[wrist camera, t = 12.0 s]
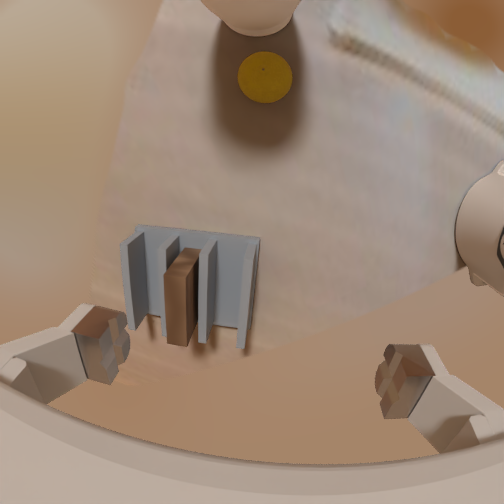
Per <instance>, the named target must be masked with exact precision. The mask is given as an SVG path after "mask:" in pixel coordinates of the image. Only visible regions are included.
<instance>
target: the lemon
mask: <svg viewBox="0 0 504 504" xmlns="http://www.w3.org/2000/svg"><path fill="white" fill-rule="evenodd" d="M237 77H238V84H239V86H240V89H241V90H242V92H243V93H244V94H245V95H246V96H247V97H248V98H250V99H251V100H253V101H256V102H260V103H271V102H275V101H277V100H279V99H281V98H283V97H284V96H285V95H286V94H287V93H288V91H289V90H290V88H291V85H292V77H293V75H292V71H291V68H290V66H289V64H288V63H287V62H286V61H285V60H284V59H283V58H282V57H281V56H279V55H278V54H275V53H272V52H266V51H262V52H256V53H254V54H251V55H250V56H248V57H247V58H246V59H245V60H244V61H243V62H242V63H241V65H240V67H239V70H238V75H237Z"/></svg>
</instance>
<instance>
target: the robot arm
mask: <svg viewBox="0 0 504 504" xmlns="http://www.w3.org/2000/svg"><path fill="white" fill-rule="evenodd" d="M456 243H457V248H458V251H459V254H460V256H461V258H462V259H463V261H464V262H465V264H466V265H467V267H468V269H469V274H470V279H471V282H472V283H473V284H474V285H476V286H482V285H489V286H490V287H491V288H493V289H494V290H495V291H497V292H498V293H499V294H500V295H502V296H504V160H503V161H501V162H499V163H498V165H497V166H496V167H495V169H494V170H493V172H492V173H491V174H489V175H488V176H486V177H484V178H482V179H480V180H479V181H478V182H476V183H475V184H474V185H473V186H472V188H471V189H470V190H469V191H468V193H467V194H466V196H465V198H464V200H463V202H462V204H461V207H460V209H459V213H458V217H457V222H456ZM127 324H128V323H127V317H126V314H125V313H124V312H121V311H117V310H113V309H109V308H105V307H101V306H96V305H92V304H88V303H82V304H81V305H80V306H79V307H78V308H77V309H76V310H75V311H74V312H73V313H72V314H71V315H70V316H69V317H68V318H67V319H66V320H65V321H64V322H63V323H62V324H61V325H60V326H59V327H58V328H55V327H52V328H49V329H46V330H43V331H40V332H37V333H35V334H32V335H29V336H25V337H23V338H20V339H17V340H14V341H11V342H8V343H5V344H2V345H0V504H504V409H503V408H502V407H500V406H499V405H497V404H496V403H494V402H493V401H491V400H490V399H488V398H487V397H485V396H484V395H482V394H481V393H479V392H478V391H476V390H475V389H473V388H472V387H470V386H469V385H467V384H466V383H464V382H462V381H461V380H460V379H459V378H457V377H455V376H454V375H449V373H448V371H447V370H446V368H445V366H444V364H443V362H442V361H441V359H440V357H439V355H438V354H437V352H436V350H435V348H434V347H433V346H432V345H431V344H416V345H407V344H406V345H404V344H389V345H388V346H387V348H386V349H385V352H384V357H385V361H384V362H382V363H381V364H380V365H379V366H378V369H377V372H376V377H375V388H376V392H377V394H378V395H380V396H381V397H382V400H381V402H380V406H381V410H382V413H383V416H384V419H396V418H397V419H398V418H408V420H409V421H410V422H411V423H412V425H413V426H414V427H415V428H416V429H417V430H418V431H419V432H420V433H421V434H422V435H423V436H424V437H425V438H426V439H427V440H428V441H429V443H431V445H432V446H433V447H434V448H435V449H436V450H437V451H438V452H439V453H440V454H436V455H431V456H425V457H418V458H411V459H404V460H395V461H385V462H374V463H360V464H289V463H273V462H261V461H252V460H243V459H235V458H228V457H221V456H215V455H209V454H203V453H198V452H192V451H188V450H183V449H178V448H174V447H169V446H165V445H161V444H157V443H153V442H150V441H146V440H142V439H139V438H135V437H132V436H128V435H125V434H122V433H118V432H116V431H112V430H109V429H106V428H104V427H101V426H98V425H95V424H92V423H90V422H87V421H84V420H81V419H79V418H77V417H74V416H72V415H69V414H67V413H64V412H62V411H59V410H57V409H55V408H52V407H50V406H48V405H46V404H48V403H50V402H51V401H53V400H55V399H56V398H58V397H60V396H61V395H63V394H65V393H67V392H68V391H70V390H71V389H73V388H75V387H76V386H78V385H80V384H82V383H83V382H85V381H87V379H91V380H94V381H97V382H101V383H105V384H108V385H111V383H112V382H113V380H114V378H115V377H116V375H117V374H118V372H119V370H118V365H120V364H122V363H124V362H125V360H126V359H127V357H128V354H129V350H130V336H129V334H128V333H127V331H126V330H125V329H124V328H125V327H126V325H127Z"/></svg>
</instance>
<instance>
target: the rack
mask: <svg viewBox="0 0 504 504" xmlns="http://www.w3.org/2000/svg"><path fill="white" fill-rule="evenodd" d="M259 243H260V237H251V236H242V235H233V234H224V233H215V232H206V231H196V230H187V229H177V228H168V227H158V226H148V225H137V226H136V227H135V233H134V234H132V235H131V236H130V237H128V238H127V239H126V240H124V241H123V242H122V243H120V253H121V266H122V277H123V287H124V296H125V305H126V312H127V320H128V327H129V329H130V330H135V331H136V329H137V328H138V326H139V325H140V323H141V322H142V320H143V319H144V317H145V316H146V314H151V315H157V316H161V327H162V336H165V337H167V333H166V318H165V301H164V278H163V275H164V273H165V272H166V271H167V269H168V268H169V267H170V265H171V264H172V263H173V262H174V260H175V259H176V258H177V257H178V255H179V254H180V253H181V252H182V250H183V249H184V248H185V247H186V248H195V249H202V250H201V252H200V253H199V290H198V342H199V343H206V342H207V340H208V337H209V334H210V331H211V328H212V325H220V326H227V327H234V328H238V333H237V346H236V348H241V349H244V348H245V342H246V336H247V330H248V329H250V327H251V318H252V309H253V300H254V290H255V281H256V271H257V262H258V253H259Z"/></svg>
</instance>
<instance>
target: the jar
mask: <svg viewBox="0 0 504 504" xmlns="http://www.w3.org/2000/svg"><path fill="white" fill-rule="evenodd" d="M300 1H301V0H201V2H202V3H203V4H204V5H205V6H206V7H207V8H208V9H209V10H210V11H211V12H213V13H214V14H215V15H217V16H218V17H219V18H220V19H222V20H223V21H224V22H225V23H226V24H227V26H229V27H230V28H231V29H232V30H234V31H236V32H238V33H240V34H243V35H247V36H255V37H258V36H266V35H270V34H273V33H276V32H278V31H279V30H281V29H282V28H284V27H285V26H286V25H287V24H288V22H289V21H290V19H291V17H292V14H293V12H294V11H295V9H296V7H297V6H298V4H299V3H300Z"/></svg>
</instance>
